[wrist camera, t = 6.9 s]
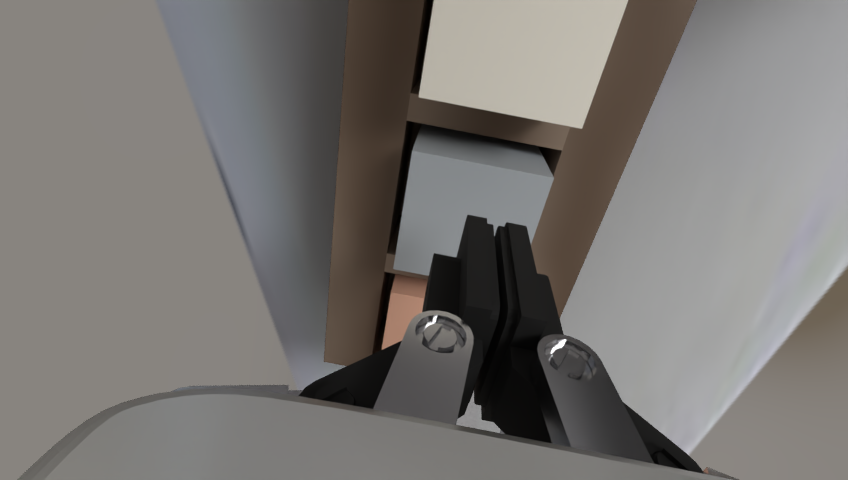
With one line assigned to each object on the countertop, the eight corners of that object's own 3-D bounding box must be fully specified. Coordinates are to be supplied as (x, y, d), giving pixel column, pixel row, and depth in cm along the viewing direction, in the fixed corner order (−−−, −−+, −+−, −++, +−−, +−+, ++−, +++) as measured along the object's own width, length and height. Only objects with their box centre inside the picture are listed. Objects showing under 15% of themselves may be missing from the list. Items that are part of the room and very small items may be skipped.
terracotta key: (402, 247, 22) (390, 292, 19) (494, 264, 22) (499, 312, 19) (390, 318, 25) (378, 369, 21) (473, 334, 25) (474, 387, 21)
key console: (346, 303, 27) (323, 361, 22) (387, -113, 16) (359, -156, 12) (514, 335, 27) (524, 399, 23) (661, -59, 16) (732, -81, 12)
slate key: (422, 122, 18) (412, 150, 14) (536, 144, 18) (554, 177, 14) (405, 223, 20) (393, 269, 17) (506, 243, 20) (514, 292, 17)
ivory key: (455, -85, 14) (451, -116, 10) (606, -55, 14) (655, -75, 10) (428, 77, 16) (418, 97, 13) (556, 102, 16) (581, 128, 13)
